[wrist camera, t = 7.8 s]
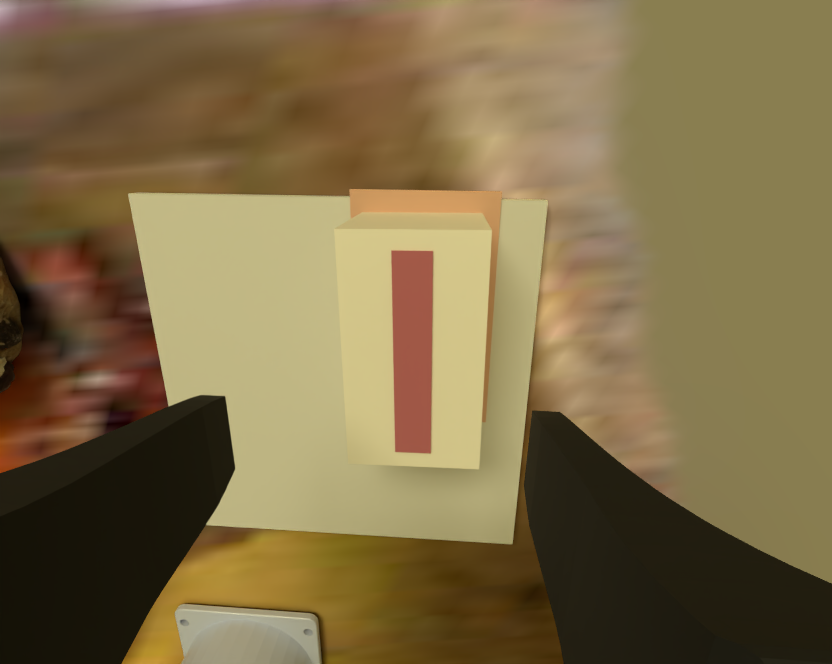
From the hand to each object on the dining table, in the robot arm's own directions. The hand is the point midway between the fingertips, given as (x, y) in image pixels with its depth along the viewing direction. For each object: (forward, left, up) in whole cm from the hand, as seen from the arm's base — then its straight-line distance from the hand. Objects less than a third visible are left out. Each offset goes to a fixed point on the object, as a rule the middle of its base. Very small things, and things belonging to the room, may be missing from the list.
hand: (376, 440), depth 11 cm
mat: (-3, +3, -9) cm, 10 cm away
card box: (0, -1, -9) cm, 9 cm away
